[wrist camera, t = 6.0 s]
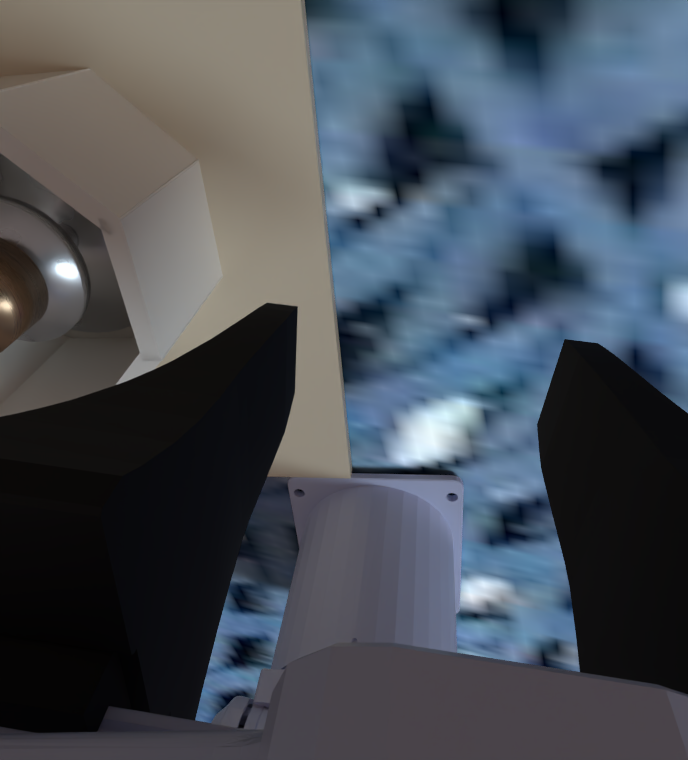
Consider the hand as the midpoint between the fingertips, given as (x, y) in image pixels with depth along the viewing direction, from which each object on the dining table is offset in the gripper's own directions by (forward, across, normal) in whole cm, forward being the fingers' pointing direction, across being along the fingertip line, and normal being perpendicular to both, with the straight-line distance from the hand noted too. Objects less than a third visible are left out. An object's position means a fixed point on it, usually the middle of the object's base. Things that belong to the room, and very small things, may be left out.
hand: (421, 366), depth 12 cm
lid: (+9, +12, +2) cm, 16 cm away
